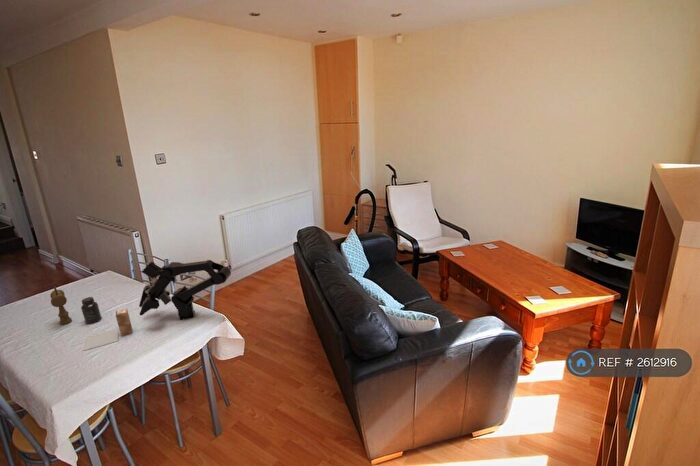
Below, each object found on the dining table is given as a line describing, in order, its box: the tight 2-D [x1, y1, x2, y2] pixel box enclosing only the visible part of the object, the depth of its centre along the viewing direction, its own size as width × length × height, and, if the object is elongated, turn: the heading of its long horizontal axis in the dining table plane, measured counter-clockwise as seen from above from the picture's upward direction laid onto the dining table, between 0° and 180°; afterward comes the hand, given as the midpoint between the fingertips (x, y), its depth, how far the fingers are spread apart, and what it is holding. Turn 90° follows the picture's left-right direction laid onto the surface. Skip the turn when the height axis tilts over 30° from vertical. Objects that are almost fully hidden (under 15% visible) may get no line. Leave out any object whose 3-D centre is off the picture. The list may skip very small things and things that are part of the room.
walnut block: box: [115, 308, 133, 337], centre depth 170 cm, size 4×4×11 cm
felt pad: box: [82, 327, 120, 352], centre depth 167 cm, size 13×12×1 cm
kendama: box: [50, 286, 73, 325], centre depth 179 cm, size 6×10×20 cm, turn 41°
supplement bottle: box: [80, 296, 102, 325], centre depth 181 cm, size 7×7×12 cm
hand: (140, 310), depth 176 cm, fingers open, 9 cm apart
